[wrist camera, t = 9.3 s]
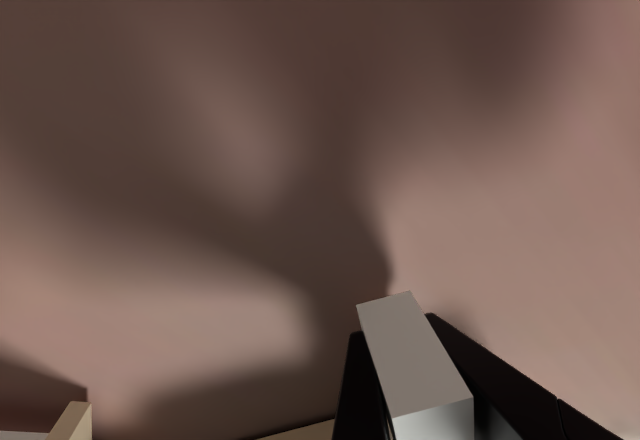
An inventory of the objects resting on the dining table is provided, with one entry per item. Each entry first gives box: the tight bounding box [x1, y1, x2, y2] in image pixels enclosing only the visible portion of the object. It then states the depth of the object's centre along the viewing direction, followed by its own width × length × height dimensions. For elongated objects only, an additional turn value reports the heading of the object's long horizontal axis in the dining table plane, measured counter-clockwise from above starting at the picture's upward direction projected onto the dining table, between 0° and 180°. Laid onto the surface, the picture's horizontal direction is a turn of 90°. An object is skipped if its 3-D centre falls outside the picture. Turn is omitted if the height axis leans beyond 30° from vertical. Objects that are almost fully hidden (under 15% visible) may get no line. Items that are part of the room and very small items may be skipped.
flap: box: [356, 291, 474, 440], centre depth 9 cm, size 6×7×4 cm
